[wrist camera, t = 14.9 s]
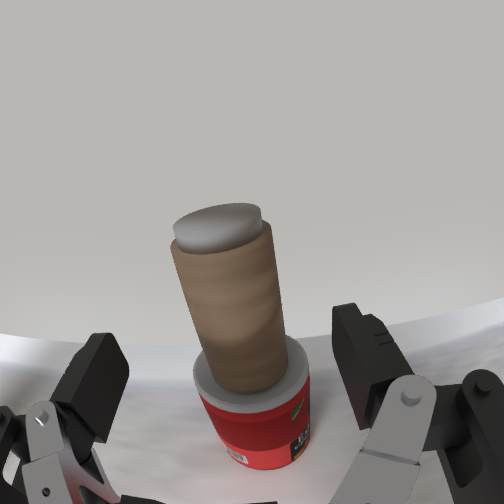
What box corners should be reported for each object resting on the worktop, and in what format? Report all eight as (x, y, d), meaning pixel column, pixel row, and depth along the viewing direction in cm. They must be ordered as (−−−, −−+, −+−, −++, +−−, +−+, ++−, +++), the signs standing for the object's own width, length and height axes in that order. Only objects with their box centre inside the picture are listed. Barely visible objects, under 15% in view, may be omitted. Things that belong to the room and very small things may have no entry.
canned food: (313, 468, 19) (316, 400, 15) (222, 473, 20) (181, 408, 15) (306, 404, 26) (302, 322, 22) (228, 410, 27) (200, 332, 22)
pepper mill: (274, 399, 15) (244, 236, 11) (198, 383, 17) (144, 238, 13) (296, 342, 20) (280, 198, 15) (230, 334, 22) (198, 204, 17)
